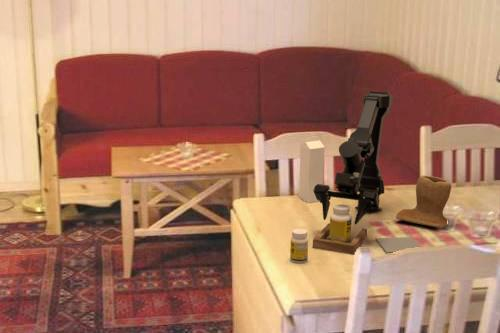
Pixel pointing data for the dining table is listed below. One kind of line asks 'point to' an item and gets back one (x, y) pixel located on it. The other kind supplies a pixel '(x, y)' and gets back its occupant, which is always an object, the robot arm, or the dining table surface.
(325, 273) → the dining table surface
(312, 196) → the milk
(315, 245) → the open wooden u-frame
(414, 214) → the brown boot
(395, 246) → the coaster
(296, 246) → the supplement bottle
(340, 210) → the pill bottle
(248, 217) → the dining table surface
